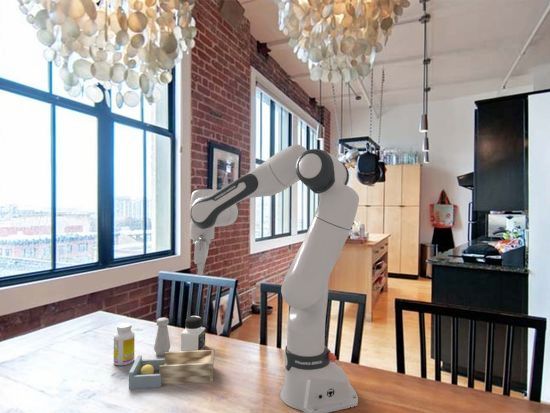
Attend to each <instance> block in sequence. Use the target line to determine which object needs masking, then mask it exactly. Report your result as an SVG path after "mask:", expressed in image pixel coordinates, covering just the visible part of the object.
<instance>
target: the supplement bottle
mask: <svg viewBox="0 0 550 413" xmlns="http://www.w3.org/2000/svg"><path fill="white" fill-rule="evenodd" d="M132 327H133V325H132V323H131V322H130V323H129V322H123V323H119V324H117V325H116V331H117V332H115V333H114V335H113V363H114V365H116V366H126V365H129V364H132V363H134V360H135V332H134V331H133V330H132Z"/></svg>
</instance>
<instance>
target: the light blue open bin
mask: <svg viewBox="0 0 550 413" xmlns="http://www.w3.org/2000/svg"><path fill="white" fill-rule="evenodd" d="M134 360H135V361H133V364H132V365H131V367H130V370H129V372H128V389H129V390H131V389H133V390H134V389H150V388H151V389H152V388H161V387H162V385H161V380H162V378H161V374H159V369H160V365H164V364H165V357H164V358H149V359H143V356H142V355H137V357H136V359H134ZM145 365H151V366H153V368H154V373H153V374H150V375H141V373H140V372H141V369H142V367H143V366H145Z"/></svg>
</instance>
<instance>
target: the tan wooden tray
mask: <svg viewBox="0 0 550 413" xmlns="http://www.w3.org/2000/svg"><path fill="white" fill-rule="evenodd" d="M214 355H215V350H214V349H205V350H204V349H201V350H198V351H181V350H180V351H179V350H178V351H168V352H165V355H164V358H165V364H164V365H160V369H159V374H161V378H162V380H161V386H167V385H169V386H170V385H172V386H173V385H184V384H186V385H187V384H199V383H200V384H201V383H202V384H203V383H214V365H215V364H214V363H215V362H214V359H215V358H214V357H215V356H214Z"/></svg>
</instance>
